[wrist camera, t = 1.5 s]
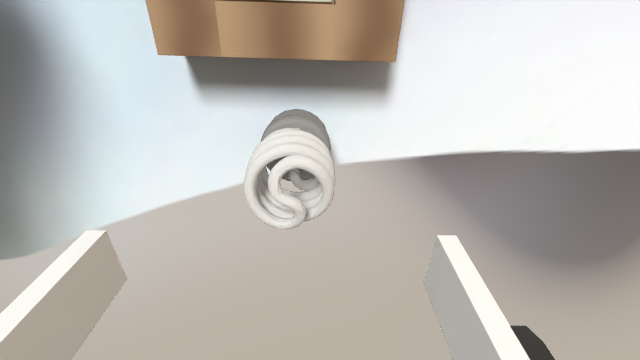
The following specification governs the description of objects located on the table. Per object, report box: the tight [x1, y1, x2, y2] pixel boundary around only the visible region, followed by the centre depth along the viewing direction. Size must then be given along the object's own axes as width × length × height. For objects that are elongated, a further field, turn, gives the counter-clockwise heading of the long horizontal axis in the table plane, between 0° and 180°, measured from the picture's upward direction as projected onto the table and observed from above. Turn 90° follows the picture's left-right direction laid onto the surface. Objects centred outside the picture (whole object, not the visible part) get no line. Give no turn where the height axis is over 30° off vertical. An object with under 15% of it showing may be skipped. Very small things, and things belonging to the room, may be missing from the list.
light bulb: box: [244, 109, 335, 229], centre depth 22 cm, size 6×6×12 cm
